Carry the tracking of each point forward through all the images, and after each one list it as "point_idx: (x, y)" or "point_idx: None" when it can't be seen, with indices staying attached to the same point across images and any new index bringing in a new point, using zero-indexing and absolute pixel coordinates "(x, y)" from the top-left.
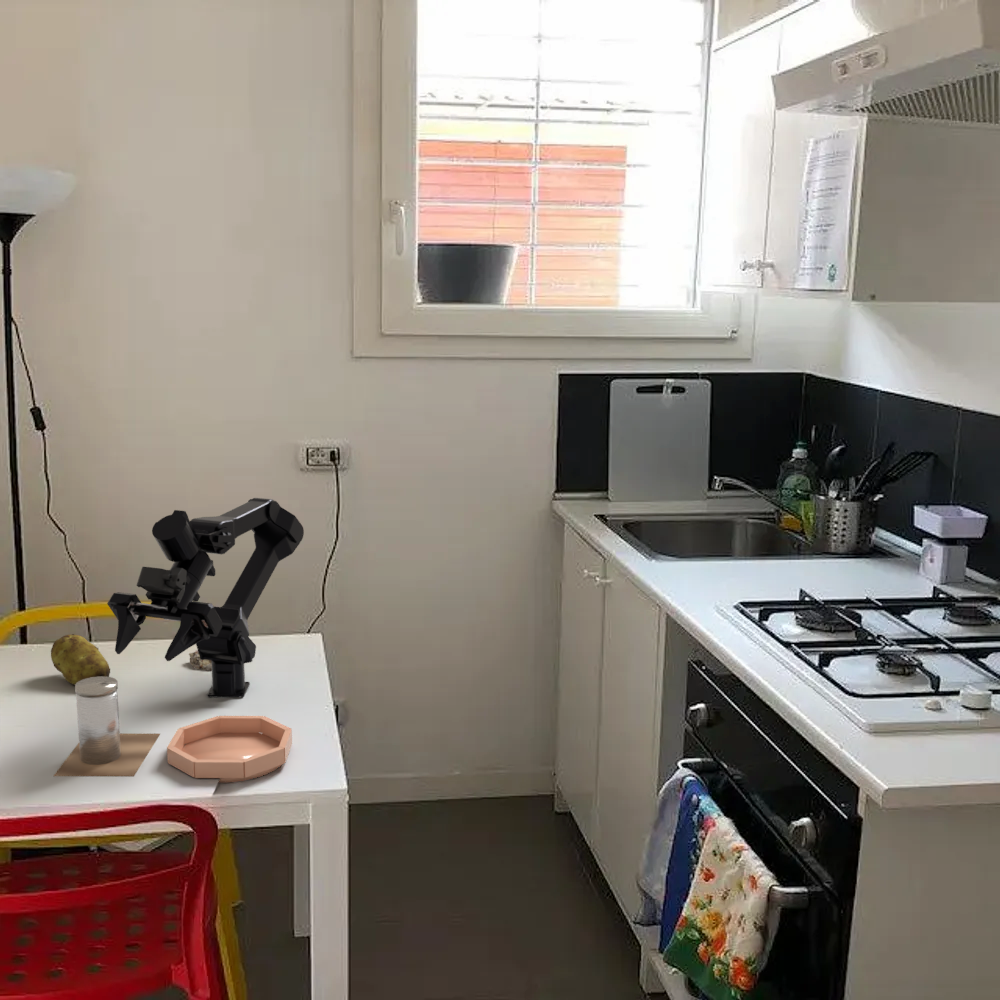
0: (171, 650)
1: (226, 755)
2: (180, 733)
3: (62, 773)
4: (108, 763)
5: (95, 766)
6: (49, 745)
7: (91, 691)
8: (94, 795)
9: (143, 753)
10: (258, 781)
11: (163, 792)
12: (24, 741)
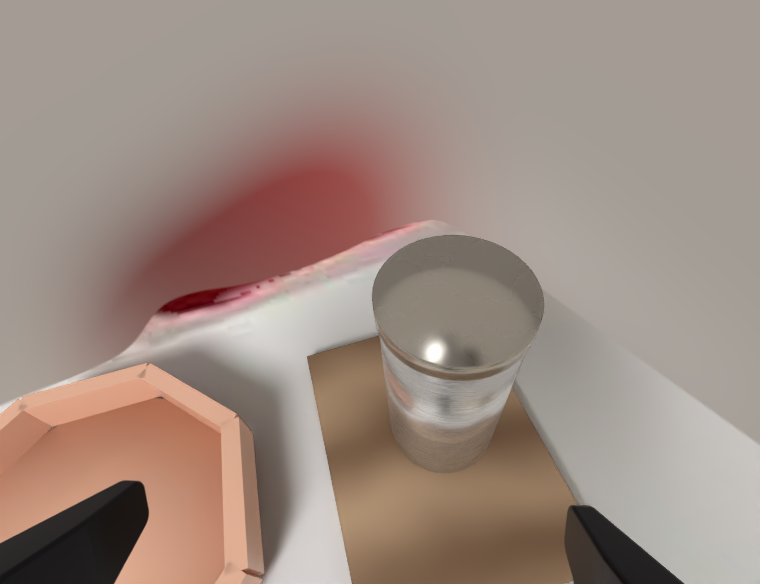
0: (59, 513)
1: None
2: (227, 527)
3: None
4: None
5: None
6: (651, 474)
7: (422, 242)
8: (354, 296)
9: (343, 473)
10: None
11: (231, 340)
12: (744, 476)
